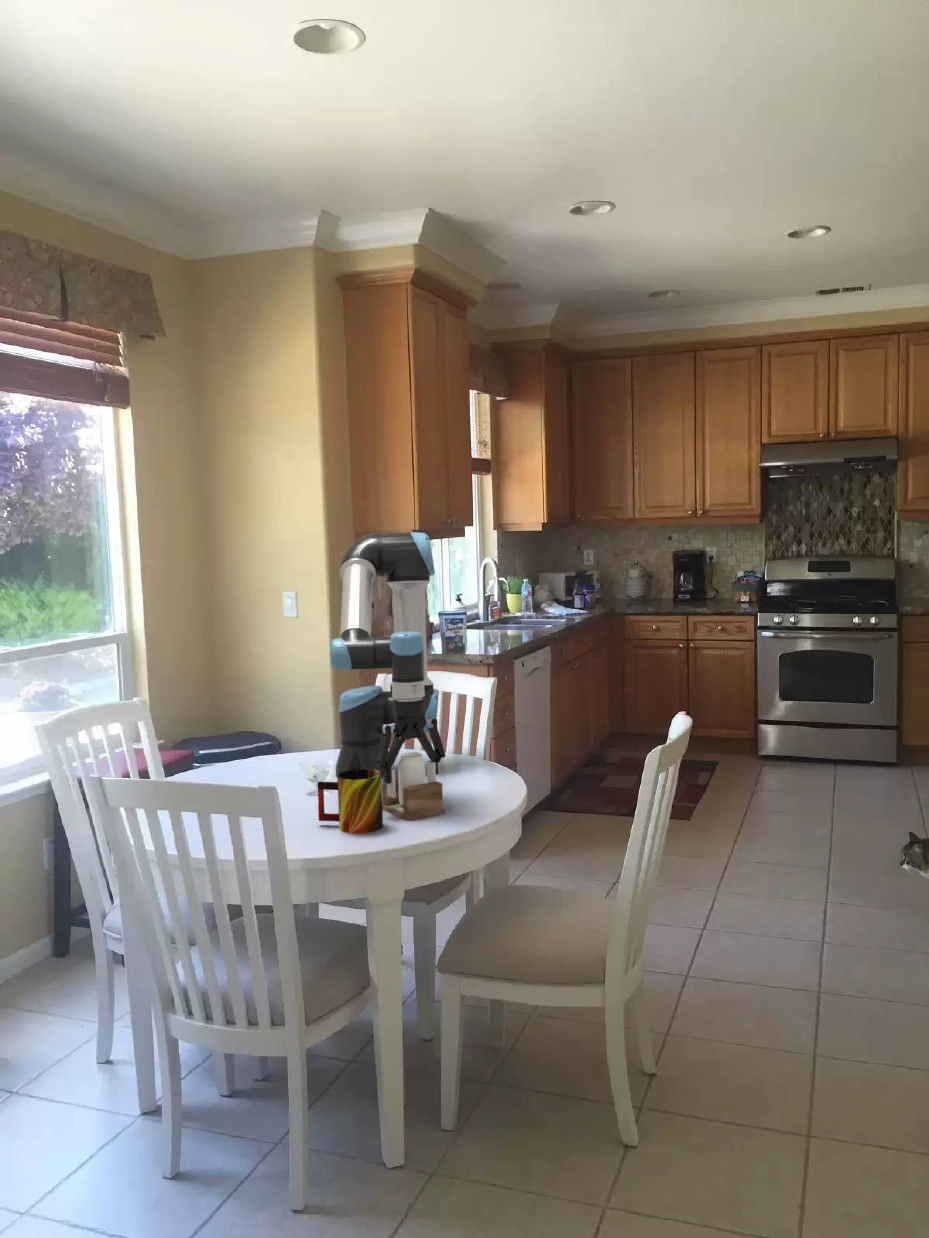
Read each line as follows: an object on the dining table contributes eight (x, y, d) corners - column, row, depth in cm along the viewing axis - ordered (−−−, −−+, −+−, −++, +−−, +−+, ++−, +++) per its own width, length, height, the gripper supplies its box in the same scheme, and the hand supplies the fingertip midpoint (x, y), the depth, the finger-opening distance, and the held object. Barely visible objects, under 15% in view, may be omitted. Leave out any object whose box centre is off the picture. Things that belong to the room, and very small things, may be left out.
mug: (318, 824, 230) (316, 772, 229) (379, 819, 233) (377, 767, 232) (322, 837, 221) (319, 782, 220) (385, 831, 224) (383, 777, 223)
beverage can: (396, 808, 237) (395, 758, 235) (402, 799, 243) (401, 750, 241) (422, 809, 236) (421, 759, 234) (427, 800, 242) (427, 751, 240)
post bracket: (380, 808, 242) (379, 779, 241) (417, 801, 247) (416, 772, 247) (408, 820, 231) (406, 790, 231) (445, 812, 237) (444, 783, 236)
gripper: (372, 706, 228) (376, 804, 230) (458, 695, 240) (461, 787, 242) (357, 702, 234) (361, 797, 236) (441, 691, 246) (444, 781, 248)
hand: (412, 792), depth 239 cm, fingers open, 10 cm apart
